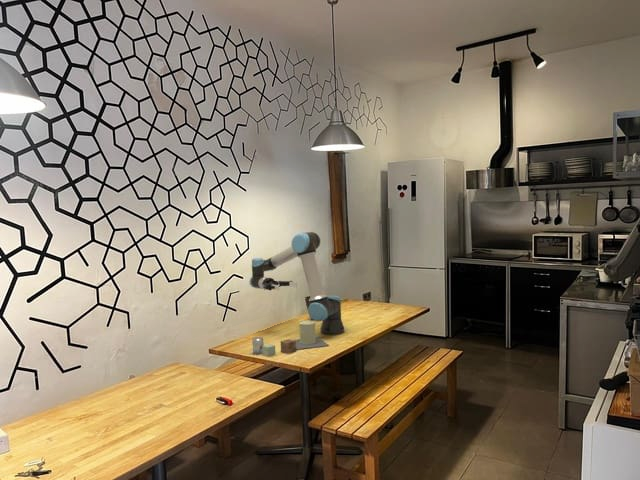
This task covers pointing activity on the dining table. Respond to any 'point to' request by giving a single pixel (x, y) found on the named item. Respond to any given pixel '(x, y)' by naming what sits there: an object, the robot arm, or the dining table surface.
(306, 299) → the plant pot
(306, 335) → the can
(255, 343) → the grey tin
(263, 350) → the sage block
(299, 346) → the charcoal mat
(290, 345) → the walnut block
